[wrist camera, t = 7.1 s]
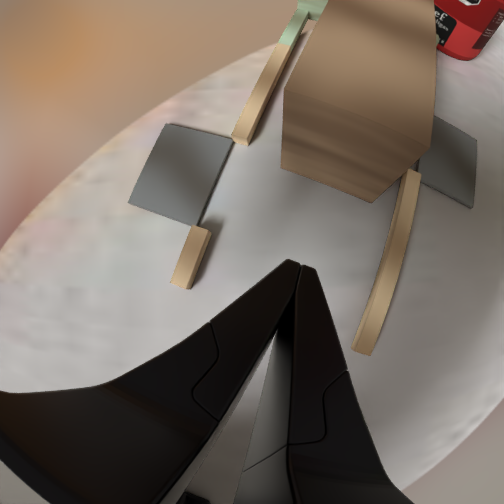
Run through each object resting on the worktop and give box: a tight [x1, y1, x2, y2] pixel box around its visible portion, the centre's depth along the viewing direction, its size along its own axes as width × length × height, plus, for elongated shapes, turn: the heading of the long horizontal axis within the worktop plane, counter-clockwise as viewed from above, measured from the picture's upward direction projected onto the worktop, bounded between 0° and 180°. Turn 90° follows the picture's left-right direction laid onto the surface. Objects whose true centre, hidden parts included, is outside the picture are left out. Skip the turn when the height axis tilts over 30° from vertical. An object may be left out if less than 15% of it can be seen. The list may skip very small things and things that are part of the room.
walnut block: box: [281, 0, 436, 203], centre depth 14 cm, size 14×6×8 cm, turn 158°
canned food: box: [434, 0, 504, 60], centre depth 13 cm, size 8×8×11 cm
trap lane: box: [128, 0, 477, 356], centre depth 16 cm, size 25×22×3 cm
